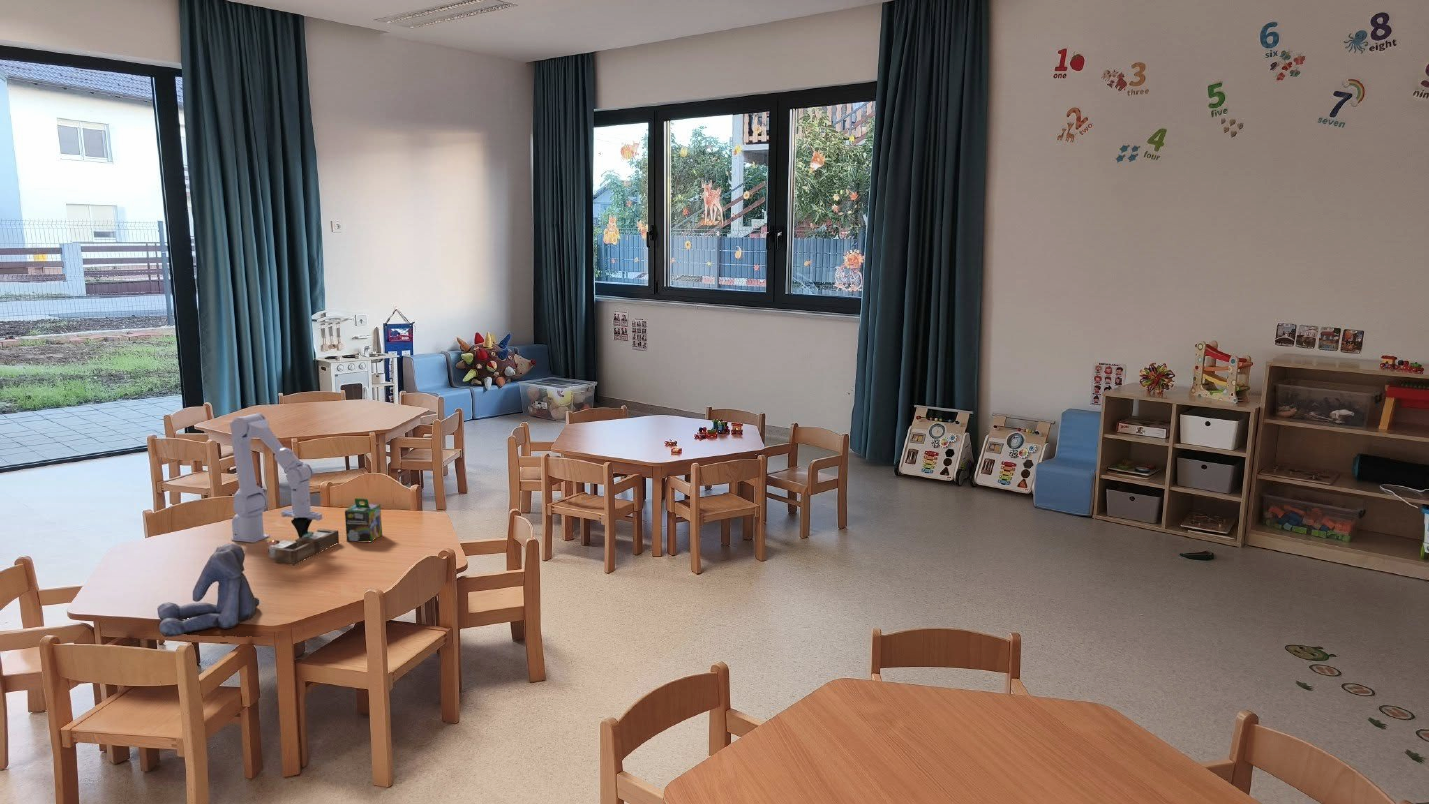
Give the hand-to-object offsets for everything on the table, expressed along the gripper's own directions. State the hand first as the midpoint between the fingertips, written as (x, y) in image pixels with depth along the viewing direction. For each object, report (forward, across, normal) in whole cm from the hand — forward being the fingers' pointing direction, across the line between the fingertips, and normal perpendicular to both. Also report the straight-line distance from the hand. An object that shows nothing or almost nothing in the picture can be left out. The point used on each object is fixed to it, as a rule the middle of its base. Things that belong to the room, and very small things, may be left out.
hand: (303, 538), depth 315 cm
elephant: (+3, +16, -60) cm, 63 cm away
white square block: (+2, 0, -11) cm, 11 cm away
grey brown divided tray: (+3, +6, -6) cm, 9 cm away
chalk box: (+3, +14, +13) cm, 20 cm away
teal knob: (+2, +5, 0) cm, 5 cm away
